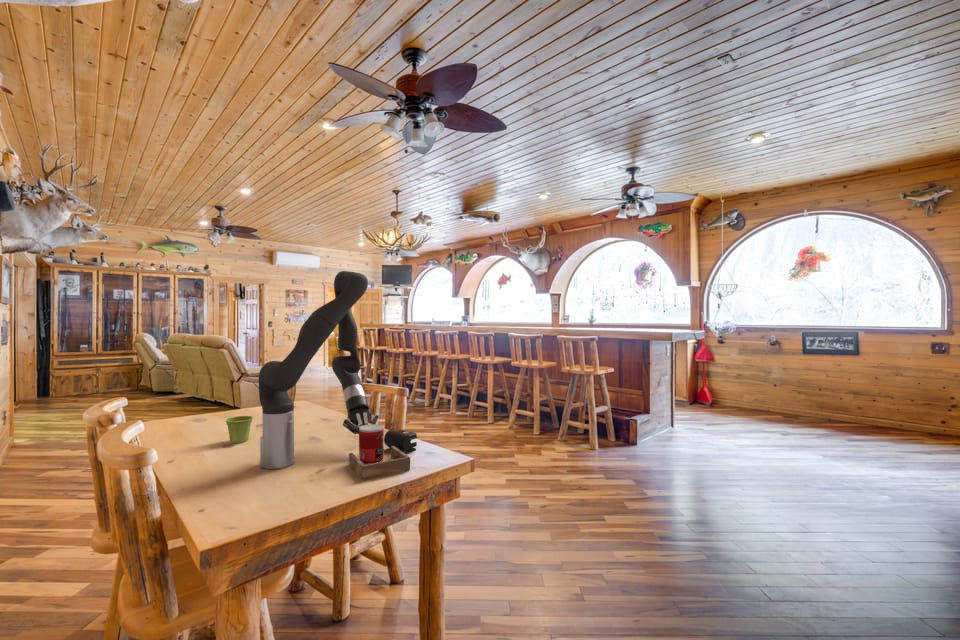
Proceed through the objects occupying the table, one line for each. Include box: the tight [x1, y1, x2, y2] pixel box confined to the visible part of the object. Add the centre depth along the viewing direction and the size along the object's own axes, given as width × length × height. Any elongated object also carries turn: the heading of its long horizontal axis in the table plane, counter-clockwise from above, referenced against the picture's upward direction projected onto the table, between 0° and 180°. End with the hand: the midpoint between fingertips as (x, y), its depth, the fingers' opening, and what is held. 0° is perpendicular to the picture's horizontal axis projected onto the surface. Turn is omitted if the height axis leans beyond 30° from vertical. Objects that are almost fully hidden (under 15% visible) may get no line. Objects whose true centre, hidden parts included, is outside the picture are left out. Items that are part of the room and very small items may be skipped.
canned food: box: [358, 423, 385, 465], centre depth 143 cm, size 8×8×11 cm
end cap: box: [383, 429, 418, 454], centre depth 153 cm, size 10×7×7 cm
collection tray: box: [348, 446, 411, 481], centre depth 136 cm, size 14×15×4 cm
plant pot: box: [224, 415, 254, 444], centre depth 163 cm, size 9×9×9 cm
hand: (366, 442), depth 146 cm, fingers closed
